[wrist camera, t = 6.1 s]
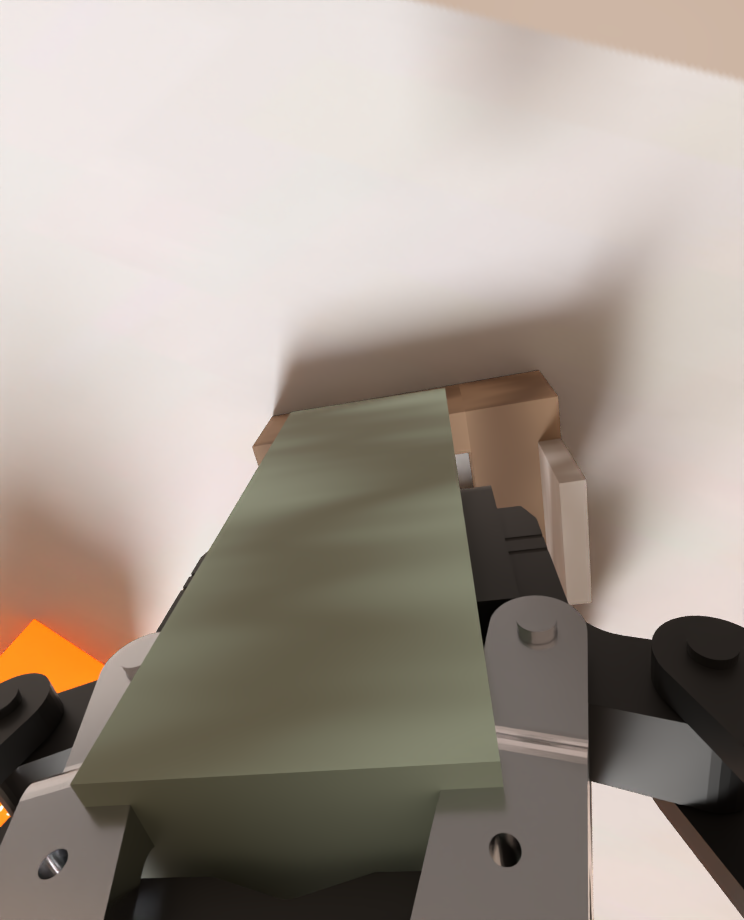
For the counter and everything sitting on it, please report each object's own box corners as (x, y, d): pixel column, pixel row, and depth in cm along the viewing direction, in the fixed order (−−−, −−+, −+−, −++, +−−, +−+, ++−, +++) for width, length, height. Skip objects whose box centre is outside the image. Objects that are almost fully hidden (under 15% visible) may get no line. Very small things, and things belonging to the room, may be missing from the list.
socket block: (538, 370, 27) (584, 431, 20) (562, 665, 35) (600, 784, 28) (272, 416, 29) (225, 487, 22) (352, 684, 37) (338, 800, 30)
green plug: (445, 388, 14) (500, 762, 5) (463, 523, 15) (531, 994, 6) (291, 411, 14) (69, 784, 5) (325, 539, 16) (203, 992, 7)
